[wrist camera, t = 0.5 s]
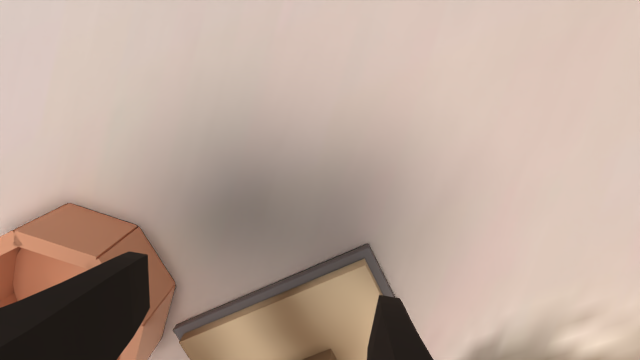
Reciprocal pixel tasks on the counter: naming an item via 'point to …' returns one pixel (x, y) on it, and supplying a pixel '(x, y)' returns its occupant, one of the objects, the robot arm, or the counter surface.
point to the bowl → (82, 263)
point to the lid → (297, 322)
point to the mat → (287, 285)
